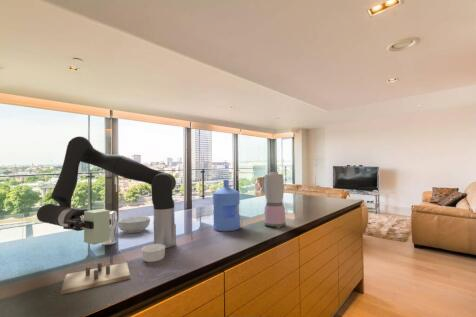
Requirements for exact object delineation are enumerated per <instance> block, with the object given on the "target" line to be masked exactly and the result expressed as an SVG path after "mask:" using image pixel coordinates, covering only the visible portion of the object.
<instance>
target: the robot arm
mask: <svg viewBox="0 0 476 317" xmlns="http://www.w3.org/2000/svg"><path fill="white" fill-rule="evenodd" d="M64 154H65V155H64V160H63V163H62V167H61V170H60V173H59V175H58V179H57V181H56V183H55V186H54V187H53V190H52V193H51V196H50V197H51V198H50V199H52V200H53V201H55V202H57V203H58V205H57V204H52V203H46V204H43V205H42V206H41V207H39V209H38V210H37V212H36V218H37V220H38V221H39V222H41V223H45V224H51V225H55V226H59V227H63V229H64V230H72V231H76V232H79V231H80V232H81V231H84V229H85V228H87V229H93V228H94V223H93V222H91V221H86V220H84V211H89V210H88V209H86V208H79V207H72V198H73V195H74V193H75V190H76V187H77V184H78V176H79V167H80V164H81V163H83V164H88V165H92V166H95V167H98V168H100V169H102V170H105V171H107V172H109V173H111V174H114V175H116V176H119V177H121V178H124V179H127V180H132V181H135V182H142V183H146V184H148V185H150V188H151V189H150V190H151V202H152V205H153V244H163V245H165V246H166V247H165V249H169V248H172V247H174V246H176V245H177V224H176V223H175V222H176V221H175V220H176V218H175V201H174V199H173V190H174V189H175V187H176V186H177V181H176V178H175V177H174V175H172V174H171V173H169V172H164V171H160V170H157V169H154V168H151V167H149V166H146V165H145V164H143V163H142V162H141V163H140V162H139V161H136V160H134V159H131V158H129V157H127V156H124V155H121V154H107V153H104V152H102V151H100V150H98V149H96V148H95V147H94V146H93V145H92V143H91V142H90V140H89V139H88V138H87V137H85V136H81V135H79V136H75V137H73V138H71V139H70V140H69V141H68V144H67V145H66V150H65V153H64ZM110 225H111V219H110Z"/></svg>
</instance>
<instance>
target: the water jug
mask: <svg viewBox="0 0 476 317" xmlns="http://www.w3.org/2000/svg"><path fill="white" fill-rule="evenodd" d="M229 180H230V179H223V187H221V188H219V189H217V190H216V191H213V193H212V204H213V206H212V208H213V210H212V212H213V213H212V214H213V216H212V217H213V226H212V227H213V229H214V231H218V232H234V231H237V230H240V228H241V216H240V214H238V206H239V205H240V203H241V201H240V200H241V198H240V197H241V196H240V191H238V190H236V189H234V188H232V187H230V186H229V185H230V183H229Z"/></svg>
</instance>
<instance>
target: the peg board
mask: <svg viewBox="0 0 476 317" xmlns="http://www.w3.org/2000/svg"><path fill="white" fill-rule="evenodd" d="M102 265H103V263H102V262H97V267H96V268H92V269H91V266H87V267H85V270H81V271H76V272H71V273H66V275H65V278H64V281H63V284H62V286H61V290H60V295H66V294H70V293H75V292H78V291H83V290H86V289H91V288H96V287H99V286H104V285H108V284H112V283H116V282H121V281H126V280H129V279H131V273H130V271H129V266H128V262H125V261H124V262H121V263H117V264H116V263H115V264H112V265H111V264H110V265H109V264H108V265H106V266H102Z"/></svg>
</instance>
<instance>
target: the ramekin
mask: <svg viewBox="0 0 476 317" xmlns="http://www.w3.org/2000/svg"><path fill="white" fill-rule="evenodd" d="M165 247H166V246H165V245H163V244H154V243H151V244H148V245H145V246H143V247H142V248H141V252H142V259H143V261H144V262H145V263H154V262H157V261H161V260H162V259H164V258H165V254H166V253H165V252H166V248H165Z"/></svg>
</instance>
